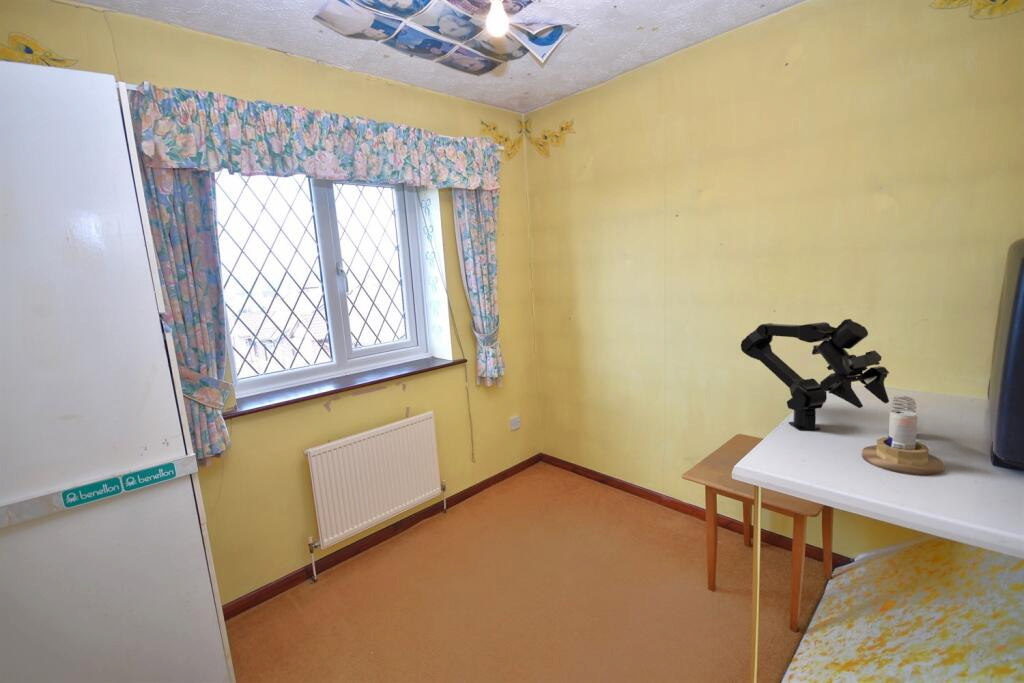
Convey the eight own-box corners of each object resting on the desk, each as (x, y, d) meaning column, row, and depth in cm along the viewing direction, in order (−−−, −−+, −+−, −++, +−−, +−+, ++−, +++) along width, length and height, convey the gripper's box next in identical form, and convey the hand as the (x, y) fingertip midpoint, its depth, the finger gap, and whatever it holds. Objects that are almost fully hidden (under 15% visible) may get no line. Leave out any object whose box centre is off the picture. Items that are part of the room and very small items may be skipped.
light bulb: (887, 436, 131) (890, 397, 129) (889, 430, 135) (892, 392, 133) (913, 440, 127) (916, 400, 125) (914, 434, 131) (917, 395, 129)
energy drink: (899, 451, 118) (902, 408, 116) (920, 459, 113) (923, 414, 111) (881, 454, 117) (884, 410, 115) (901, 462, 112) (905, 417, 110)
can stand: (847, 450, 124) (848, 434, 123) (908, 448, 122) (909, 431, 122) (892, 476, 108) (893, 458, 107) (962, 474, 107) (964, 456, 106)
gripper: (831, 345, 120) (870, 394, 112) (884, 338, 125) (925, 385, 116) (805, 367, 129) (839, 415, 120) (854, 360, 134) (891, 405, 125)
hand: (874, 405), depth 120 cm, fingers open, 9 cm apart
